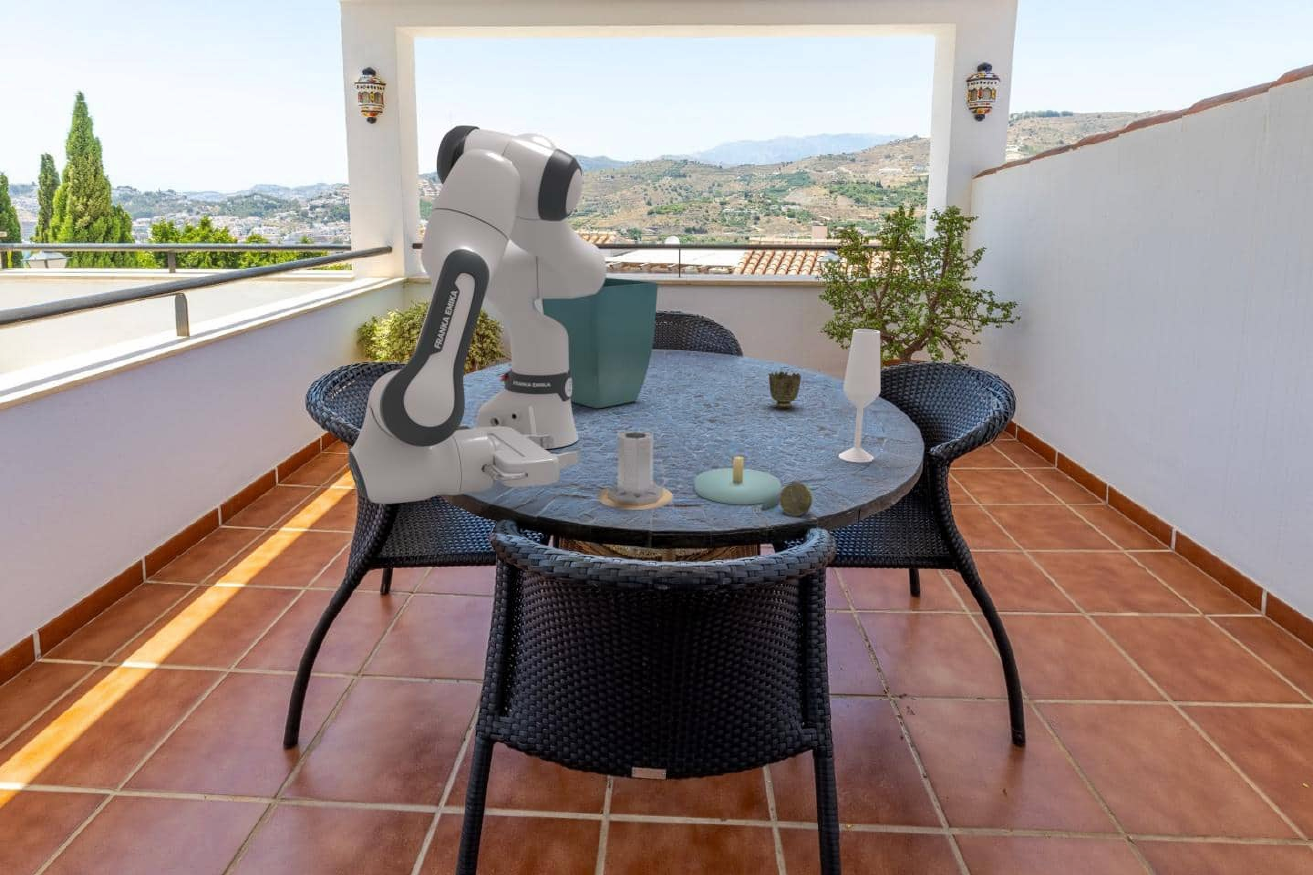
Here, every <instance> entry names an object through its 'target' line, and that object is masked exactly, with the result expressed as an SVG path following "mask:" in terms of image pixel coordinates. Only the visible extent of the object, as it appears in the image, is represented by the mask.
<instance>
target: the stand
mask: <svg viewBox="0 0 1313 875" xmlns="http://www.w3.org/2000/svg"><path fill="white" fill-rule="evenodd" d="M610 487H611V486H609V487H605V488H603V489H601V491H599V492H598V493H597V500H598V501H599V503H601V504H603V505H605V506H608V507H611V508H615V509H620V510H621V509H622V510H629V511H630V510H631V511H632V510H633V511H640V510H641V511H642V510H651V509H656V508H660V507H663V506H666V505H668V504H669V503H671V502H672V501H673V499H674V495H673V493H672V492H671V491H670V490H668V489H666V488H664V487H662V488H663V496H662V497H661V498H660V500H659V501H658V502H656V503H650V504H645V505H640V506H635V505H626V504H617V503H616V502H614V501H613V500H611V499H610V498H608V497H607V490H608V489H609V488H610Z"/></svg>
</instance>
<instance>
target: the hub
mask: <svg viewBox="0 0 1313 875" xmlns="http://www.w3.org/2000/svg"><path fill="white" fill-rule="evenodd" d="M732 466H733V467H730V468H729V467H727V468H726V467H725V468H724V467H722V468H717V469H711V470H706V471H704V472H701V473H699V474H698V475H697V476H695V478H694V491H695V493H697V495H699V496H700V497H702V498H704V499H707V500H710V501H713V502H717V503H721V504H728V505H757V504H762V503H763V504H762V505H761V507H760V511H762V510H766V509H770V508H772V507H774V506H776V505H777V504H778V503H779V504H780V494H781V492H782V489H781V488H782V483H781V480H780V479H779V478H778V477H776V476H775V475H773V474H771V473H767V472H765V471H761V470H756V469H751V468H750V469H749V468H744V457H742V456H734V457H733V465H732Z"/></svg>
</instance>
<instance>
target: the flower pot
mask: <svg viewBox="0 0 1313 875" xmlns="http://www.w3.org/2000/svg"><path fill="white" fill-rule="evenodd" d="M658 288H659V282H658V281H657V282H656V281H647V280H638V279H626V278H617V277H616V278H615V277H606V278H605V281H604V284H603V286H602V287H601V289H600V290H599V291H598V292H597V293H596V294H594V295H590V296H585V297H580V298H574V299H541V304H542V305H541V306H542V314H544V315H546V316H548V317H550V318H552V319H554V320H556V321H558V322H559V323H561V324H562V325H563V326H564V327H565V329H566V330H567V333H568V338H569V369H570V370H571V378H572V397H571V403H575V404H580V405H583V406H586V407H589V408H593V409H602V408H608V407H612V406H617V405H623V404H626V403H631V402H632V403H633V402H636V401H637V400H638V398H639V395H640V393H641V390H642V388H643V385H644V382H645V379H646V376H647V372H648V368H649V364H650V360H651V356H652V350H653V345H654V340H655V339H654V338H655V325H656V314H657V313H656V312H657V297H658Z"/></svg>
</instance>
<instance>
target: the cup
mask: <svg viewBox="0 0 1313 875" xmlns="http://www.w3.org/2000/svg"><path fill="white" fill-rule="evenodd" d="M801 380H802V375H801V374H800V373H799V372H797V373H795V372H793V373H792V374H788V372H787V371H786V372H784V371H783V370H781V371H779V372H777V371H775V372H774V373H773V372H770V373H768V381H769V382H768V383H769V392H770V396H771V398H772V399H773V400H774V401H776V402H775V407H776V408H777V409H781V410H787V409H790V408H791V407H792V402H793V401H794V400H796V399H797V397H798V394H799V390H800V385H801Z"/></svg>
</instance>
